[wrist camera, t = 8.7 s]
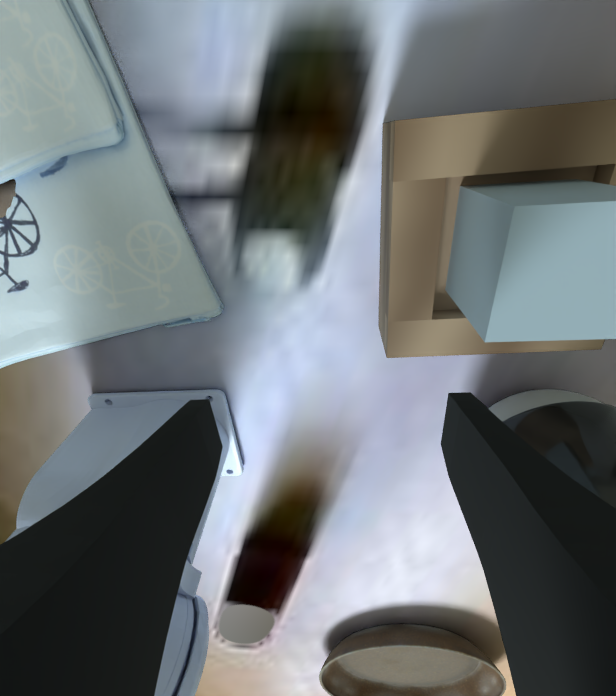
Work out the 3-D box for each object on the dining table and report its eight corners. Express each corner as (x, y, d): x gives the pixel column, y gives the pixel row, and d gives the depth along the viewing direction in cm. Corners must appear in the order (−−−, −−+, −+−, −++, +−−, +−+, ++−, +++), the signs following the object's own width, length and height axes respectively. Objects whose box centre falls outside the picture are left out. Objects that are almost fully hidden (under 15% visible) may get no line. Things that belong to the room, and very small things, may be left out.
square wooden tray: (378, 325, 21) (386, 357, 18) (382, 123, 16) (395, 120, 13) (560, 317, 20) (601, 349, 17) (626, 100, 15) (701, 90, 12)
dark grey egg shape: (618, 344, 21) (1122, 706, 7) (595, 466, 26) (874, 811, 12) (436, 377, 22) (586, 714, 9) (448, 485, 27) (557, 803, 14)
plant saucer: (311, 675, 49) (310, 709, 46) (331, 601, 38) (332, 639, 35) (461, 692, 49) (469, 726, 46) (523, 622, 38) (539, 662, 35)
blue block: (445, 289, 17) (484, 342, 13) (460, 185, 15) (514, 206, 10) (544, 286, 16) (621, 338, 12) (576, 178, 14) (683, 197, 10)
